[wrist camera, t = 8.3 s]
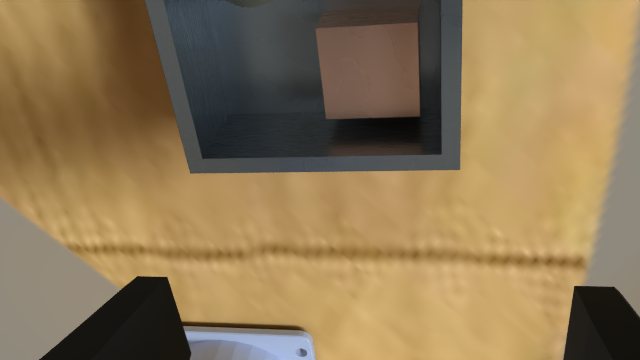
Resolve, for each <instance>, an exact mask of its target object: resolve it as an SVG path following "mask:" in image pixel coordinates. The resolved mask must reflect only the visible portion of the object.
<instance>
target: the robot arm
mask: <svg viewBox="0 0 640 360" xmlns="http://www.w3.org/2000/svg"><path fill="white" fill-rule="evenodd" d="M300 348H301V349H304V350H301V349H300ZM39 360H316V357H315V351H314V345H313V339H312V337H311V335H310V334H309V333H307V332H305V331H301V330H276V329H250V328H224V327H198V326H183V325H182V322H181V318H180V315H179V312H178V309H177V306H176V303H175V300H174V297H173V293H172V290H171V287H170V284H169V281H168V278H167V277H141V276H137V277H136V278H135V279H134V280H132V281H131V282H130V283H129V284H127V285H126V286H125V287H124V288H123V289H121V290H120V291H119V292H118V293H117V294H115V295H114V296H113V297H112V298H111V299H110V300H109V301H107V302H106V303H105V304H104V305H103V306H102V307H100V308H99V309H98V310H97V311H96V312H95V313H94V314H92V315H91V316H90V317H89V318H88V319H87V320H85V321H84V322H83V323H82V324H81V325H80V326H78V327H77V328H76V329H75V330H74V331H73V332H72V333H70V334H69V335H68V336H67V337H66V338H64V339H63V340H62V341H61V342H60V343H59V344H58V345H56V346H55V347H54V348H53V349H51V350H50V351H49V352H48V353H47V354H46V355H44V356H43V357H42V358H41V359H39ZM563 360H640V317H639V316H638V314H637V313H636V312H635V311H634V309H633V308H632V307H631V306H630V304H629V303H628V302H627V301H626V299H625V298H624V297H623V295H622V294H621V293H620V292H619V291H618V290H617V289H616V288H615V287H596V286H594V287H593V286H574V293H573V299H572V306H571V313H570V319H569V326H568V333H567V339H566V346H565V353H564V359H563Z"/></svg>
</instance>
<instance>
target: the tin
mask: <svg viewBox="0 0 640 360" xmlns="http://www.w3.org/2000/svg"><path fill="white" fill-rule="evenodd" d="M145 2H146V6H147V10H148V14H149V18H150V22H151V25H152V29H153V33H154V37H155V41H156V44H157V48H158V52H159V56H160V60H161V63H162V67H163V71H164V75H165V79H166V82H167V86H168V90H169V94H170V98H171V102H172V105H173V109H174V113H175V117H176V121H177V124H178V128H179V132H180V136H181V140H182V143H183V147H184V151H185V155H186V159H187V163H188V166H189V170H190V173H260V172H335V171H411V170H460V137H461V68H462V0H145Z"/></svg>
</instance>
